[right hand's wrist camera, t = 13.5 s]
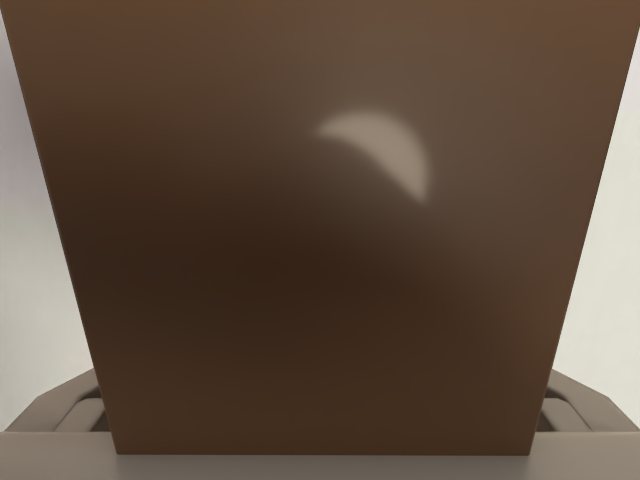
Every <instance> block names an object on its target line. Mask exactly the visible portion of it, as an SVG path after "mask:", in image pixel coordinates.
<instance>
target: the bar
mask: <svg viewBox="0 0 640 480" xmlns="http://www.w3.org/2000/svg"><path fill="white" fill-rule="evenodd" d="M0 9H1V13H2V17H3V21H4V25H5V28H6V32H7V36H8V40H9V44H10V48H11V51H12V55H13V59H14V63H15V67H16V71H17V74H18V78H19V82H20V86H21V90H22V94H23V97H24V101H25V105H26V109H27V113H28V117H29V120H30V124H31V128H32V132H33V136H34V140H35V143H36V147H37V151H38V155H39V159H40V163H41V166H42V170H43V174H44V178H45V182H46V186H47V189H48V193H49V197H50V201H51V205H52V209H53V212H54V216H55V220H56V224H57V228H58V232H59V235H60V239H61V243H62V247H63V251H64V255H65V258H66V262H67V266H68V270H69V274H70V278H71V281H72V285H73V289H74V293H75V297H76V301H77V304H78V308H79V312H80V316H81V320H82V324H83V327H84V331H85V335H86V339H87V343H88V347H89V350H90V354H91V358H92V362H93V366H94V370H95V373H96V377H97V381H98V385H99V389H100V393H101V396H102V400H103V404H104V408H105V412H106V416H107V419H108V423H109V427H110V431H111V435H112V439H113V442H114V446H115V450H116V454H118V455H400V456H528V455H530V451H531V447H532V444H533V440H534V436H535V432H536V428H537V424H538V420H539V416H540V412H541V409H542V405H543V401H544V397H545V393H546V389H547V385H548V381H549V377H550V374H551V370H552V366H553V362H554V358H555V354H556V350H557V346H558V342H559V339H560V335H561V331H562V327H563V323H564V319H565V315H566V311H567V307H568V304H569V300H570V296H571V292H572V288H573V284H574V280H575V276H576V272H577V269H578V265H579V261H580V257H581V253H582V249H583V245H584V241H585V237H586V234H587V230H588V226H589V222H590V218H591V214H592V210H593V206H594V203H595V199H596V195H597V191H598V187H599V183H600V179H601V175H602V171H603V168H604V164H605V160H606V156H607V152H608V148H609V144H610V140H611V136H612V133H613V129H614V125H615V121H616V117H617V113H618V109H619V105H620V101H621V98H622V94H623V90H624V86H625V82H626V78H627V74H628V70H629V66H630V63H631V59H632V55H633V51H634V47H635V43H636V39H637V35H638V31H639V28H640V0H0Z"/></svg>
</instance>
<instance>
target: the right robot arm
mask: <svg viewBox="0 0 640 480" xmlns="http://www.w3.org/2000/svg"><path fill="white" fill-rule="evenodd" d="M0 480H640V429H639V428H638V427H637V426H636V425H635V424H634V423H633V422H632V421H631V420H630V419H629V418H628V417H627V416H626V415H625V414H624V413H623V412H622V411H621V410H620V409H619V408H618V407H617V406H616V405H615V404H614V403H613V402H612V401H611V400H610V399H609V398H608V397H607V396H605V395H603V394H601V393H599V392H597V391H595V390H593V389H591V388H589V387H587V386H585V385H583V384H581V383H579V382H577V381H575V380H573V379H571V378H569V377H567V376H565V375H563V374H561V373H559V372H557V371H555V370H553V369H552V370H551V374H550V377H549V381H548V385H547V389H546V393H545V397H544V401H543V405H542V409H541V412H540V416H539V420H538V424H537V428H536V432H535V436H534V440H533V444H532V447H531V451H530V455H528V456H400V455H118V454H116V450H115V446H114V442H113V439H112V435H111V431H110V427H109V423H108V419H107V416H106V412H105V408H104V404H103V400H102V396H101V393H100V389H99V385H98V381H97V377H96V373H95V370H94V368H93V369H91V370H89V371H87V372H85V373H83V374H81V375H79V376H77V377H75V378H73V379H71V380H69V381H67V382H65V383H64V384H62V385H60V386H58V387H56V388H54V389H52V390H50V391H48V392H46V393H44V394H42V395H40V396H38V397H37V398H36V399H35V400H34V401H33V402H32V403H31V404H30V405H29V406H28V407H27V408H26V409H25V410H24V411H23V412H22V413H21V414H20V415H19V416H18V417H17V418H16V419H15V420H14V422H13V423H12V424H11V425H10V426H9V427H8V428H7V429H6V430H5V431H4V432H0Z"/></svg>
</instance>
